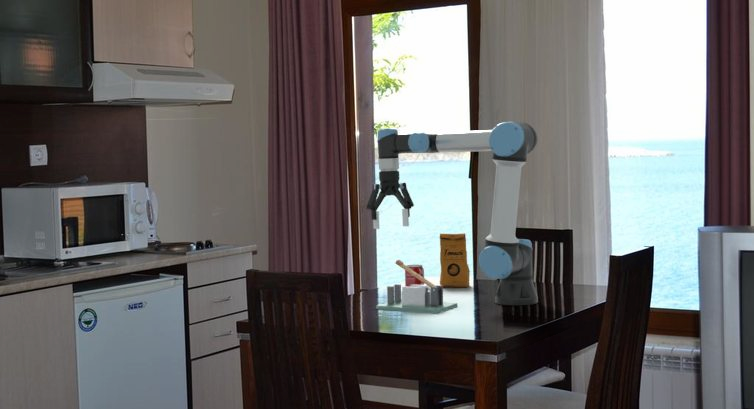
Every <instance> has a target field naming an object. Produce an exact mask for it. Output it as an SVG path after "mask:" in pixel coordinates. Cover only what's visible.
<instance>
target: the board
mask: <svg viewBox="0 0 754 409" xmlns="http://www.w3.org/2000/svg"><path fill="white" fill-rule="evenodd" d="M454 308H458V303H457V302H444V301H443V305H439V307H431V305H430V306H427V307H413V306H402V299H401V302H395V299H394V304H393V305H392V304H388V302H387V301H386V302H384V303H382V304H378V305H376V306H375V309H376V310H381V311H382V310H383V311H398V312H412V313H413V312H414V313H427V314H440V313H443V312H445V311H448V310H452V309H454Z"/></svg>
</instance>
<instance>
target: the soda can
mask: <svg viewBox="0 0 754 409" xmlns="http://www.w3.org/2000/svg"><path fill="white" fill-rule="evenodd" d="M406 266H407V267H409V268H410V269H412V270H413V271H415V272H416V273H417V274H419V275H420V276H422V277H423V278H425V270H424V267H423V264H408V265H406ZM404 280H405V282H404V284H405V285H404V287H405V286H407V287H410V285H412V284H417V285H425V283H423V282H422V281H420V280H419V279H417V278H416V277H415V276H413V275H412V274H410V273H409V272H407V271H406V270H404Z"/></svg>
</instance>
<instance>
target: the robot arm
mask: <svg viewBox="0 0 754 409" xmlns="http://www.w3.org/2000/svg"><path fill="white" fill-rule="evenodd" d="M538 139H539V138H538V134H537V131H536V129H535V128H534V127H533V126H532V125H530V124H529V123H527V122H518V121H504V122H500V123H498V124H496V125H495V127H493V129H487V130H486V129H485V130H466V131H465V130H464V131H444V132H443V131H442V132H425V131H413V132H411V131H410V132H401V133H400V132H398V129H397V128H380V129H378V131H377V141H376V142H377V153H378V170H380V171H378V181H379V183H373V184H372V191H371V193H370V197H369V199H368V202H367V204H366V210H369V211H370V212H371V220H372V221H373V222H372V224H373V229H374V230H380V213H379V212H380V211H379V207H380V206H381V205H382V203H383V201H384V199H385V198H386V197H387V196H388V197H389V196H394V197H395V198H396V199H397V201H398V203H400V205H401V206H402V207H403V208H402V212H401V214H402V227H410V222H409V218H410V217H411V216H410V215H411V214H410V209H412V208H413V207H415V204H414V202H413V200H412V197H411V194H410V192H409V191H408V188H407V183H406V182H400V171H399V169H400V161H399V156H400V154H436V153H437V154H438V153H439V154H440V153H460V152H461V153H467V152H468V153H469V152H470V153H471V152H492V160H491V161H492V162H493V163H495V178H494V188H493V197H492V200H493V201H492V212H491V223H490V233H489V235H487V236H486V237H485V239H484V240H485V242H484V248H483V249H482V250H481V252H480V254H479V255H478V265H479V268H480V270H481V271H482V273H483V274H484V275H485V276H486V277H488V278H490V279H493V280H499V284H498V287H497V290H496V293H495V297H494V298H495V304H498V305H502V306H531V305H536V304H537V303H538V302H539V300H538V299H539V297H538V294H537V290H536V287H535V285H534V281H533V250H534V249H533V244H532V241H531V240H530V239H525V238H517V236H516V229H517V219H518V211H519V210H518V209H519V208H518V207H519V197H520V188H521V187H520V185H521V176H522V175H521V174H522V167H524V165H526V163H527V157H528V155H529V154H530V153H532V152H533V151H534V150H535V148H536V147H537V145H538Z"/></svg>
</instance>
